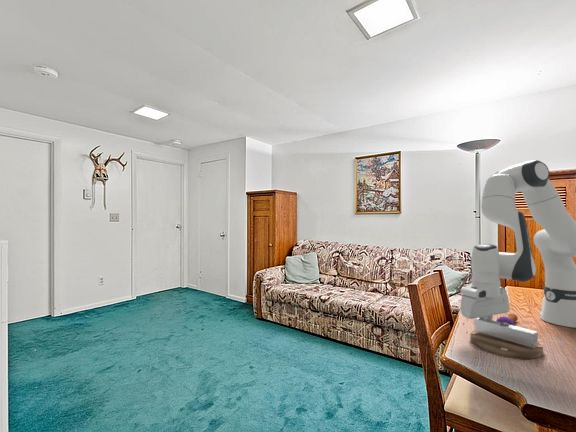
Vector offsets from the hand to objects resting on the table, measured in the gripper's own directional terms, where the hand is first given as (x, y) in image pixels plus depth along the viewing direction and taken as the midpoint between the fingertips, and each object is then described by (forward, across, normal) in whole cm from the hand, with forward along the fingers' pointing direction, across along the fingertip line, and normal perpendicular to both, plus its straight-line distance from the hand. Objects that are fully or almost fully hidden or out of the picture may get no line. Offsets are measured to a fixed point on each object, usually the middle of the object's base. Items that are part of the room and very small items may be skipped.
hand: (485, 327), depth 110 cm
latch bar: (+1, +1, +7) cm, 7 cm away
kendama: (+5, -19, -5) cm, 20 cm away
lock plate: (+4, +1, +7) cm, 8 cm away
